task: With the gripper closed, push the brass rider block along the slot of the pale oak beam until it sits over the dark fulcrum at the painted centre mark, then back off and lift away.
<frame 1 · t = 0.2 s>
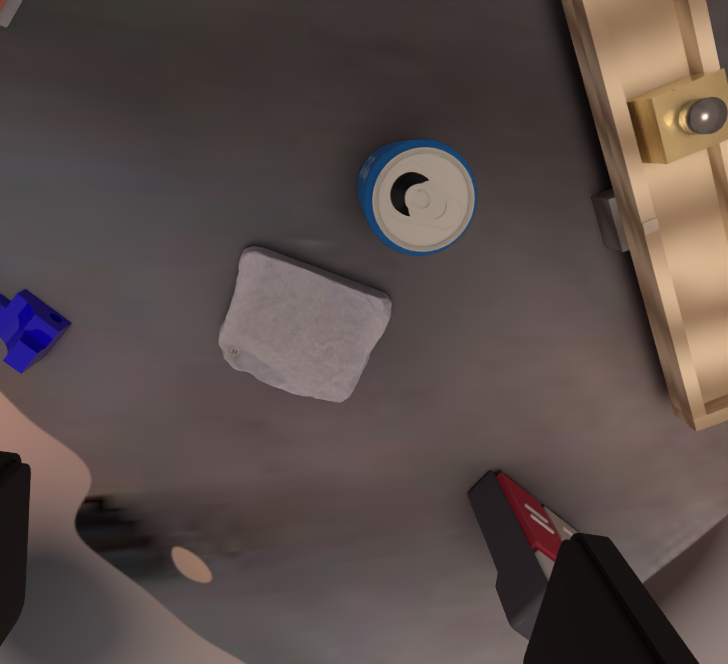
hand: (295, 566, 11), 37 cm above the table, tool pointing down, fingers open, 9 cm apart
stone block: (301, 323, 48), on the table
calculator: (522, 513, 54), on the table
beam: (648, 201, 46), on the table
rider: (683, 118, 37), point 7 cm above the table, slide at -6.0 cm
beverage can: (400, 187, 45), on the table
cable holder: (15, 305, 46), on the table
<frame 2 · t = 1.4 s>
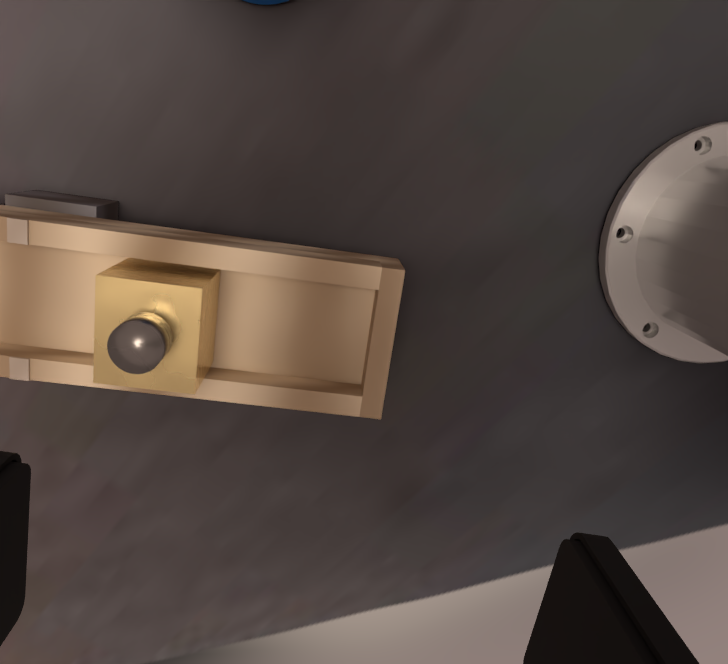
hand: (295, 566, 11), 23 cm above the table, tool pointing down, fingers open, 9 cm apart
beam: (76, 274, 32), on the table
rider: (155, 327, 25), point 7 cm above the table, slide at -6.0 cm
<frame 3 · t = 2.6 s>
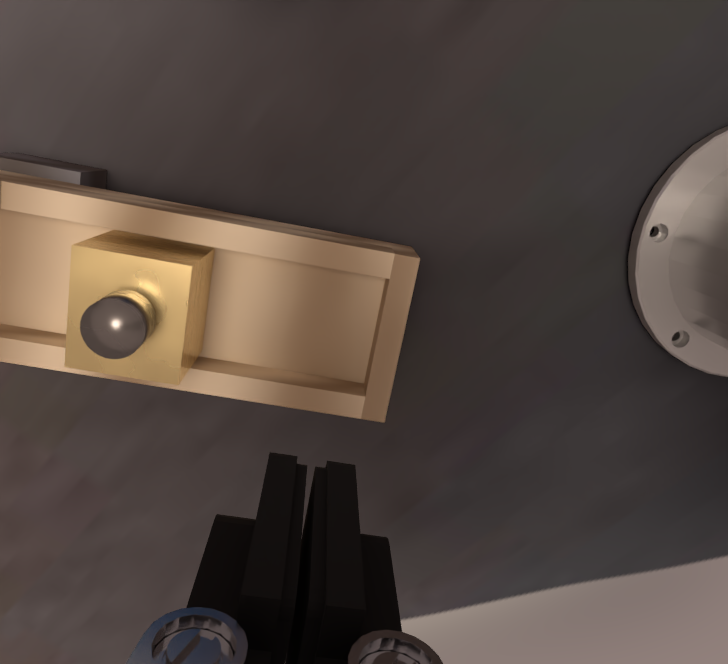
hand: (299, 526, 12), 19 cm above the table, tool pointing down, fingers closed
beam: (57, 248, 29), on the table
rider: (138, 308, 22), point 7 cm above the table, slide at -6.0 cm
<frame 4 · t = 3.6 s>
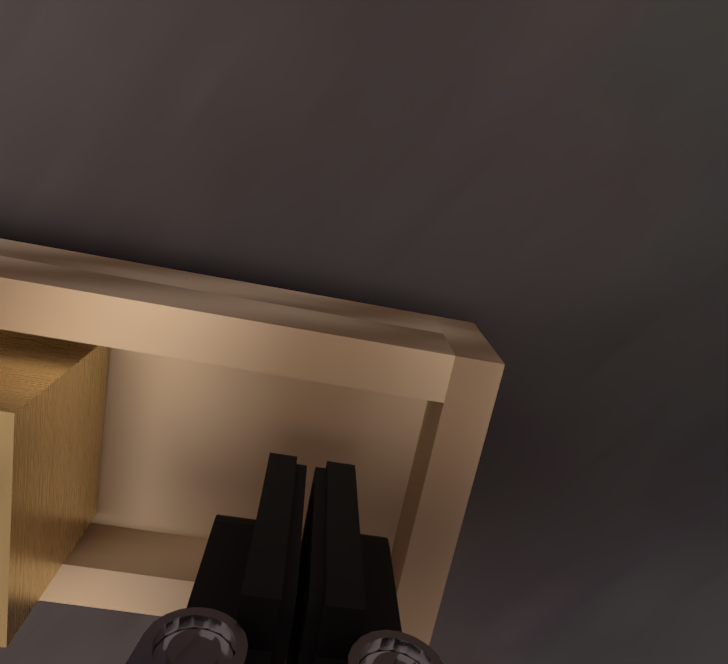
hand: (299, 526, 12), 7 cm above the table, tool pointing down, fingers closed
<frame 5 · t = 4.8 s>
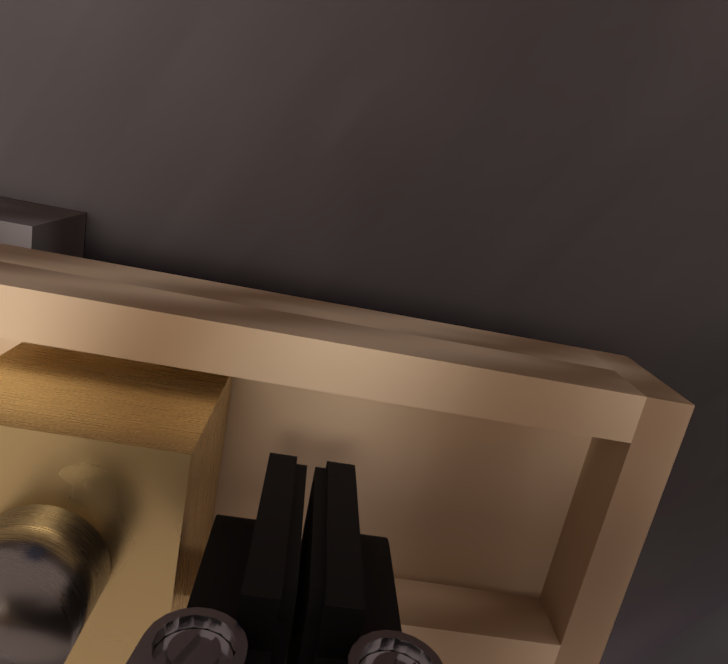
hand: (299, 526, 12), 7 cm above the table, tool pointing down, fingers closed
beam: (4, 340, 17), on the table
rider: (77, 514, 11), point 7 cm above the table, slide at -4.9 cm, touching gripper
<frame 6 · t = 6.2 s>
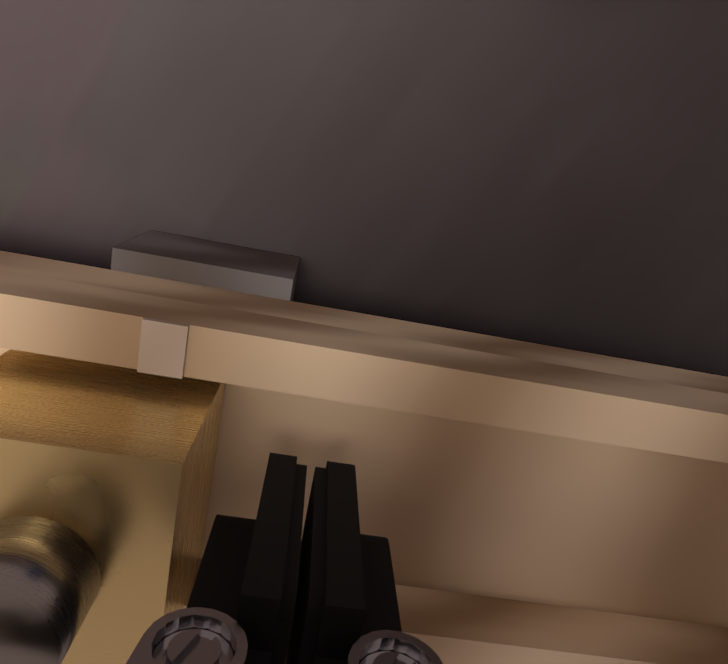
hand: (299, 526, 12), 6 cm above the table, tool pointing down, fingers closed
beam: (208, 380, 18), on the table
rider: (67, 525, 11), point 7 cm above the table, slide at 1.0 cm
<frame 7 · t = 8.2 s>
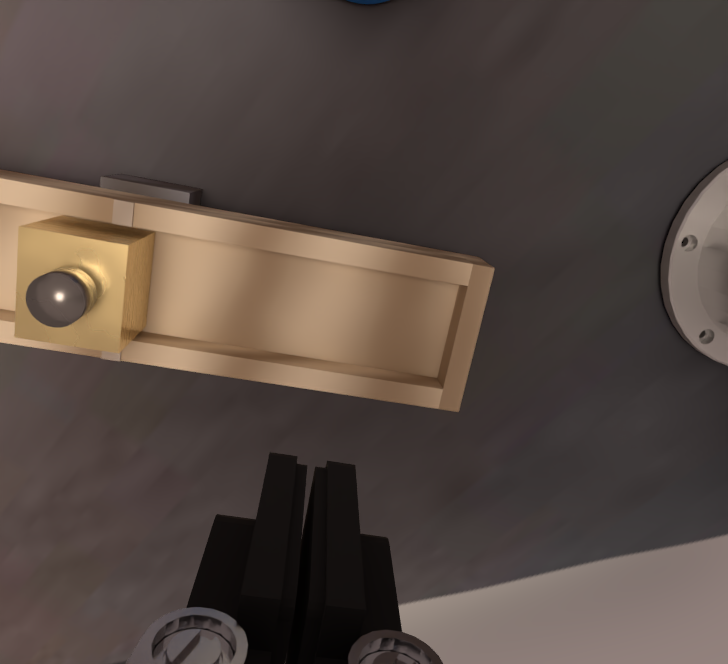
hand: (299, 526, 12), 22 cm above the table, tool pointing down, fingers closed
beam: (154, 259, 32), on the table
rider: (82, 285, 25), point 7 cm above the table, slide at 1.0 cm
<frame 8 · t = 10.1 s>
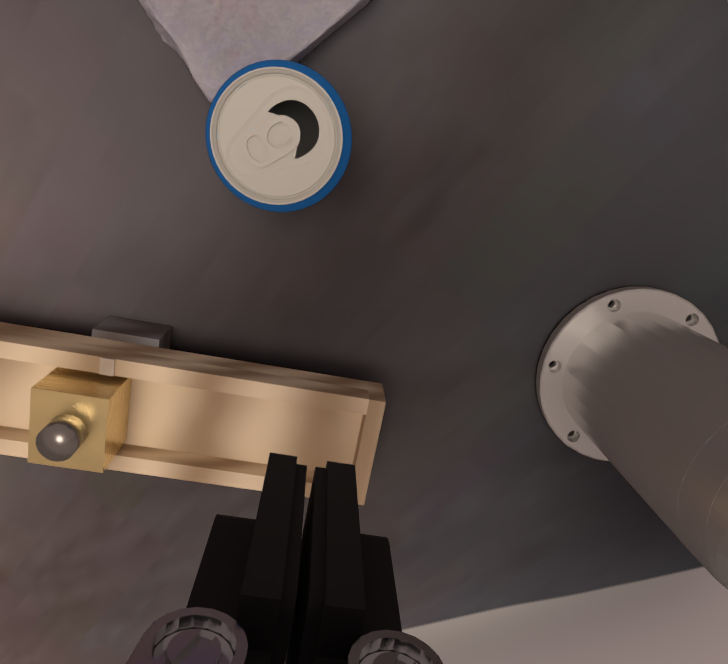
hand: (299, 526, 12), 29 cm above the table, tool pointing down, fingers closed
beam: (135, 377, 41), on the table
rider: (76, 421, 34), point 7 cm above the table, slide at 1.0 cm
beverage can: (293, 141, 38), on the table
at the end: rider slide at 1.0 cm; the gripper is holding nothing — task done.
